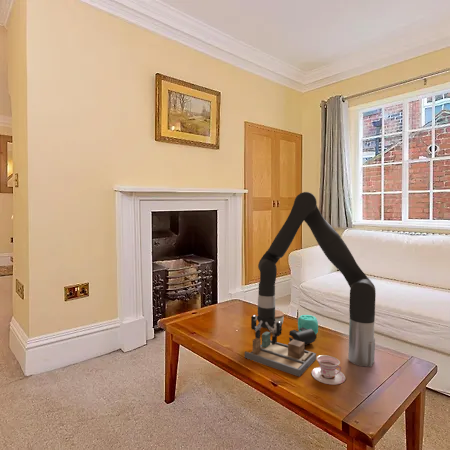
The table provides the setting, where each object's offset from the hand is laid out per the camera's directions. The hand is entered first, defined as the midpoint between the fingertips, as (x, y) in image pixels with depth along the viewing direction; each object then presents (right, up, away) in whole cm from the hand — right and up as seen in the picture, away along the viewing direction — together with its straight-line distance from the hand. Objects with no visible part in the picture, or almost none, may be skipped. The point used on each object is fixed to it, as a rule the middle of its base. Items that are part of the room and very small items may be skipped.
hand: (265, 341), depth 138 cm
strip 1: (+3, -4, -12) cm, 13 cm away
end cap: (+17, -4, +6) cm, 18 cm away
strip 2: (+7, -4, -5) cm, 10 cm away
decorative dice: (+23, -3, +19) cm, 30 cm away
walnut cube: (+11, -2, -8) cm, 14 cm away
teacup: (+20, -5, -21) cm, 30 cm away
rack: (+5, -4, -8) cm, 10 cm away
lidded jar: (+7, -2, +25) cm, 26 cm away
